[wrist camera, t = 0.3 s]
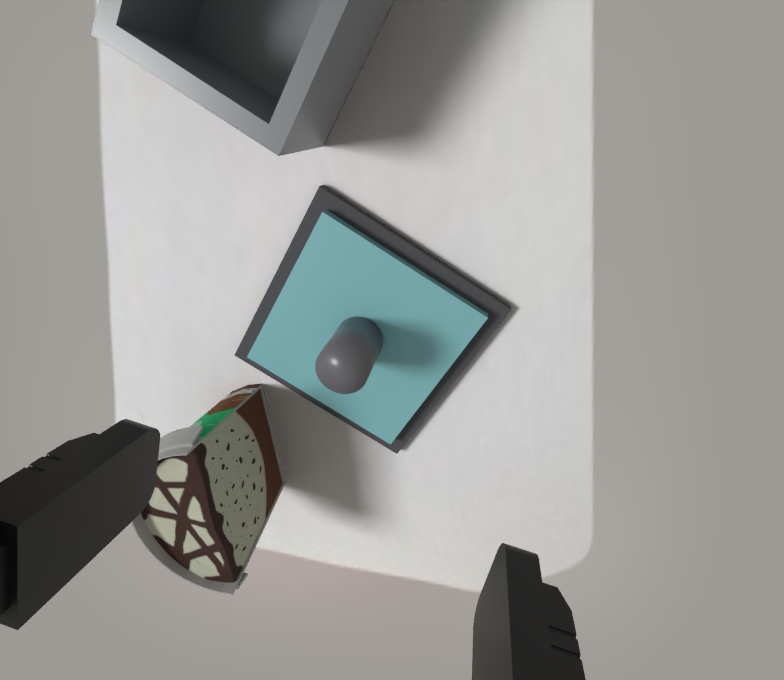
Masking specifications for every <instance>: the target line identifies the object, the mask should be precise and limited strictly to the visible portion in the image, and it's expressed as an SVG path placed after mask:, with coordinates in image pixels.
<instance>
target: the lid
mask: <svg viewBox="0 0 784 680" xmlns="http://www.w3.org/2000/svg"><path fill="white" fill-rule="evenodd" d="M487 319H488V313H487V312H485V311H483V310H482V309H480V308H479V307H477V306H476V305H474V304H473V303H471V302H469V301H468V300H466V299H465V298H463V297H462V296H460V295H459V294H457V293H455V292H454V291H452V290H451V289H449V288H448V287H446V286H445V285H443V284H441V283H440V282H438V281H437V280H435V279H434V278H432V277H431V276H429V275H427V274H426V273H424V272H423V271H421V270H420V269H418V268H416V267H415V266H413V265H412V264H410V263H409V262H407V261H406V260H404V259H402V258H401V257H399V256H398V255H396V254H395V253H393V252H392V251H390V250H388V249H387V248H385V247H384V246H382V245H381V244H379V243H378V242H376V241H374V240H373V239H371V238H370V237H368V236H367V235H365V234H364V233H362V232H360V231H359V230H357V229H356V228H354V227H353V226H351V225H349V224H348V223H346V222H345V221H343V220H342V219H340V218H339V217H337V216H335V215H334V214H332V213H331V212H329V211H328V210H325V211H323V212H322V214H321V215H320V217H319V219H318V221H317V223H316V225H315V227H314V229H313V231H312V233H311V235H310V237H309V239H308V241H307V242H306V244H305V246H304V248H303V250H302V252H301V254H300V256H299V258H298V260H297V262H296V264H295V266H294V268H293V269H292V271H291V273H290V275H289V277H288V279H287V281H286V283H285V285H284V287H283V289H282V291H281V293H280V294H279V296H278V298H277V300H276V302H275V304H274V306H273V308H272V310H271V312H270V314H269V316H268V318H267V320H266V321H265V323H264V325H263V327H262V329H261V331H260V333H259V335H258V337H257V339H256V341H255V343H254V345H253V347H252V348H251V350H250V352H249V354H248V356H247V358H249V359H251V360H252V361H254V362H256V363H257V364H259V365H261V366H262V367H264V368H265V369H267V370H269V371H270V372H272V373H274V374H275V375H277V376H279V377H280V378H282V379H284V380H285V381H287V382H288V383H290V384H292V385H293V386H295V387H297V388H298V389H300V390H302V391H303V392H305V393H307V394H308V395H310V396H312V397H313V398H315V399H316V400H318V401H320V402H321V403H323V404H325V405H326V406H328V407H330V408H331V409H333V410H335V411H336V412H338V413H339V414H341V415H343V416H344V417H346V418H348V419H349V420H351V421H353V422H354V423H356V424H358V425H359V426H361V427H362V428H364V429H366V430H367V431H369V432H371V433H372V434H374V435H376V436H377V437H379V438H381V439H382V440H384V441H386V442H387V443H389V444H390V445H391V443H392V442H393V441H394V439H395V438H396V437H397V436H398V434H399V433H400V432H401V430H402V429H403V428H404V426H405V425H406V424H407V423H408V421H409V420H410V419H411V417H412V416H413V415H414V413H415V412H416V411H417V410H418V408H419V407H420V406H421V404H422V403H423V402H424V401H425V399H426V398H427V397H428V395H429V394H430V393H431V391H432V390H433V389H434V388H435V386H436V385H437V384H438V382H439V381H440V380H441V378H442V377H443V376H444V375H445V373H446V372H447V371H448V369H449V368H450V367H451V365H452V364H453V363H454V362H455V360H456V359H457V358H458V356H459V355H460V354H461V352H462V351H463V350H464V349H465V347H466V346H467V345H468V343H469V342H470V341H471V340H472V338H473V337H474V336H475V334H476V333H477V332H478V330H479V329H480V328H481V327H482V325H483V324H484V323H485V321H486V320H487Z"/></svg>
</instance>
